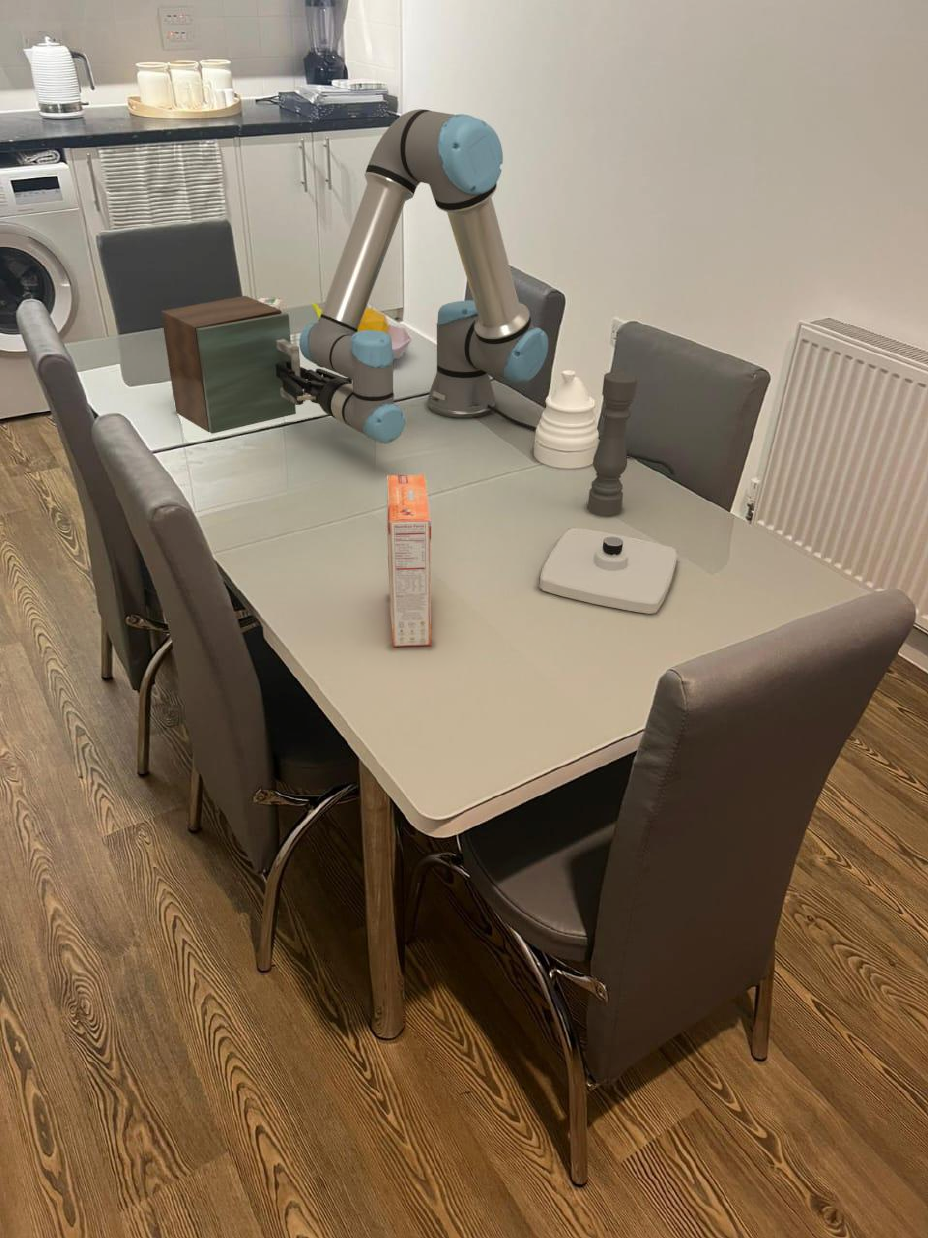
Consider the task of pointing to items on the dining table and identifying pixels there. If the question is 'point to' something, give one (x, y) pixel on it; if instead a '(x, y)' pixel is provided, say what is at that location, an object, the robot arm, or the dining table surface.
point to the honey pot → (567, 426)
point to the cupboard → (186, 350)
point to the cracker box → (409, 559)
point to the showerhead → (610, 570)
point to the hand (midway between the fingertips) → (282, 368)
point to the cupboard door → (246, 371)
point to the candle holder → (612, 445)
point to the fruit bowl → (381, 329)
